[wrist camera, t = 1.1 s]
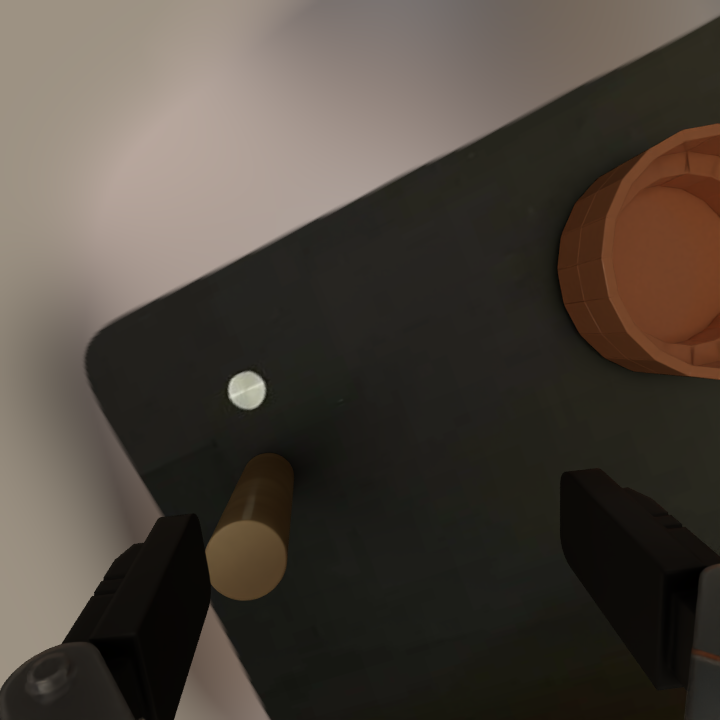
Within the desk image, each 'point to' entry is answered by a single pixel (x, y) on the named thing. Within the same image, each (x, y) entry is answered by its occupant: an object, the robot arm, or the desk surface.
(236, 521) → the stick
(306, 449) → the desk surface
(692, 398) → the desk surface
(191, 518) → the robot arm
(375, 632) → the desk surface
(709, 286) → the bowl
